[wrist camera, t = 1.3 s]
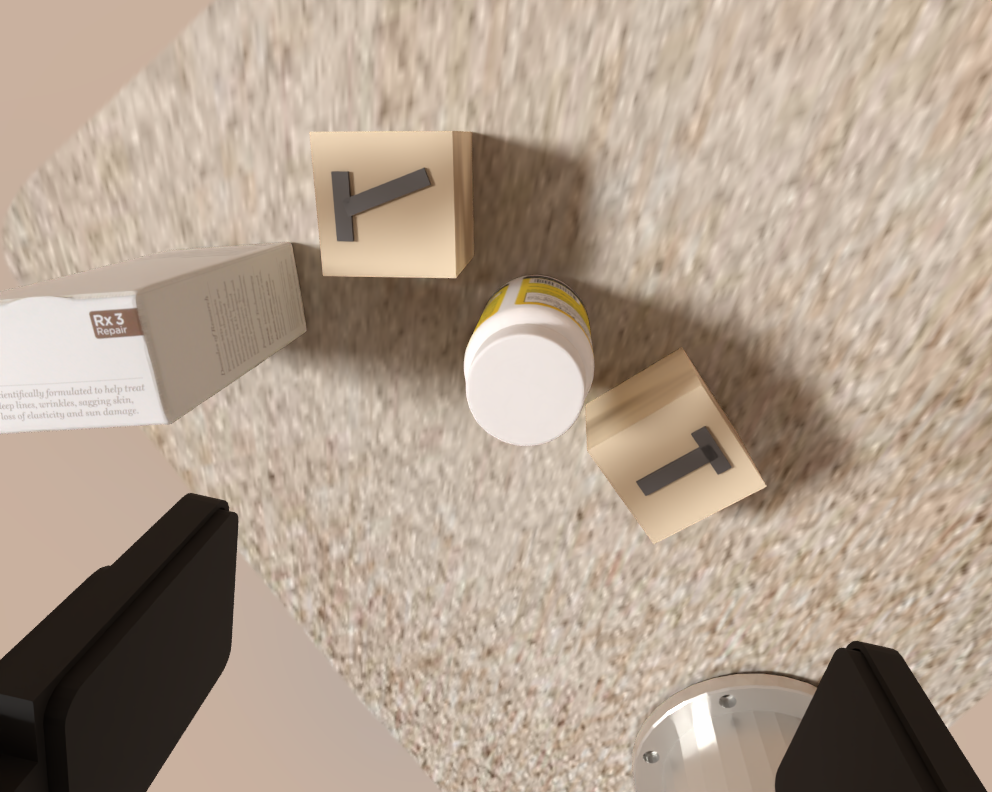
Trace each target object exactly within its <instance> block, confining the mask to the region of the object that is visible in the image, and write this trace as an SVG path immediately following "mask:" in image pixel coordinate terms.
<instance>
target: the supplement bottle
mask: <svg viewBox="0 0 992 792" xmlns="http://www.w3.org/2000/svg"><path fill="white" fill-rule="evenodd" d="M464 375H465V381H466V396H467V401H468V405H469V408H470V410H471V412H472V415H473V416H474V418H475V419H476V421H477V422H478V423H479V425H480V426H481V427H482V428H483V429H484V430H485V431H486V432H488V433H489V434H490V435H492V436H493V437H495V438H497V439H499V440H500V441H503V442H506V443H509V444H513V445H518V446H534V445H540V444H544V443H547V442H550V441H552V440H554V439H556V438H558V437H560V436H561V435H563V434H564V433H565V432H566V431H568V430H569V429H570V428H571V426H572V425H573V424H574V423H575V421H576V420H577V418H578V416H579V415H580V413H581V410H582V408H583V404H584V400H585V398H586V396H587V395H588V393H589V390H590V388H591V385H592V381H593V376H594V354H593V347H592V340H591V332H590V324H589V318H588V314H587V311H586V308H585V306H584V304H583V302H582V300H581V299H580V298H579V296H578V295H577V294H576V293H575V292H574V291H573V290H572V289H571V288H570V287H569V286H568V285H566V284H565V283H563V282H561V281H560V280H557V279H555V278H552V277H549V276H543V275H528V276H522V277H519V278H516V279H514V280H511V281H509V282H508V283H506V284H505V285H503V286H502V287H500V288H499V289H498V290H497V291H496V292H495V293H494V294H493V295H492V296H491V298H490V299H489V301H488V303H487V304H486V306H485V308H484V310H483V313H482V315H481V317H480V319H479V322H478V324H477V326H476V328H475V330H474V332H473V334H472V336H471V338H470V341H469V343H468V345H467V348H466V352H465V357H464Z"/></svg>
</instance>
